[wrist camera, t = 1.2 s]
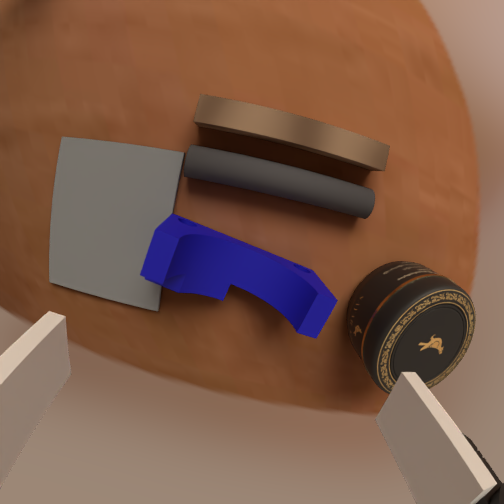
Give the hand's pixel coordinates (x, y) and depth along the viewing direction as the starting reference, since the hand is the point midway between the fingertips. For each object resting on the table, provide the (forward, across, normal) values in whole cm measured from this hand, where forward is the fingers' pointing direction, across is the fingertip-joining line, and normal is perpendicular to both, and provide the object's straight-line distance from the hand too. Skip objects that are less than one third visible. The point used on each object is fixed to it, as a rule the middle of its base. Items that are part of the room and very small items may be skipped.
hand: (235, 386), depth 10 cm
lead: (+15, +2, +8) cm, 17 cm away
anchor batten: (+15, +2, +11) cm, 18 cm away
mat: (+15, -11, +1) cm, 18 cm away
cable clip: (+15, 0, 0) cm, 15 cm away
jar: (+15, +15, -1) cm, 21 cm away
